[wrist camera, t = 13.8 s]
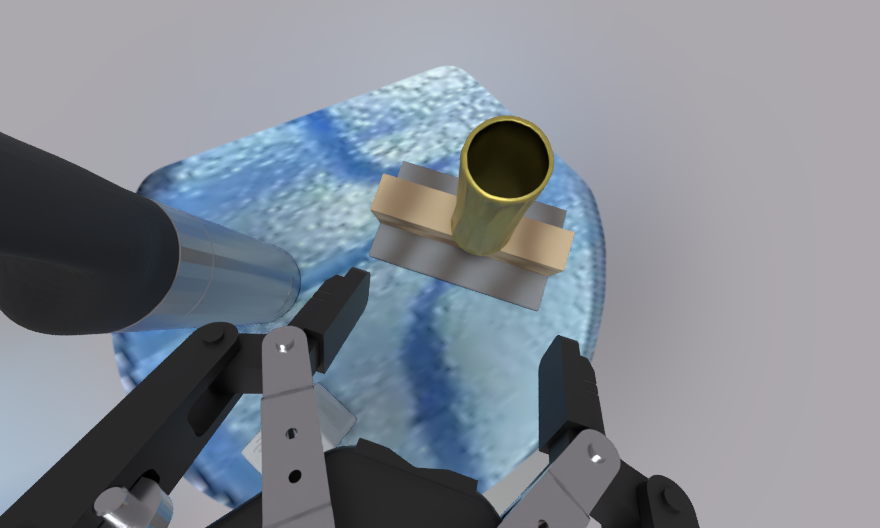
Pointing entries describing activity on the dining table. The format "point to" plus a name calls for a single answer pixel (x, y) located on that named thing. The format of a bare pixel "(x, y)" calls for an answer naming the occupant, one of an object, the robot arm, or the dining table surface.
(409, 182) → the ridge
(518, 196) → the vase
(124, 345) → the dining table surface
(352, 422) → the skincare box
